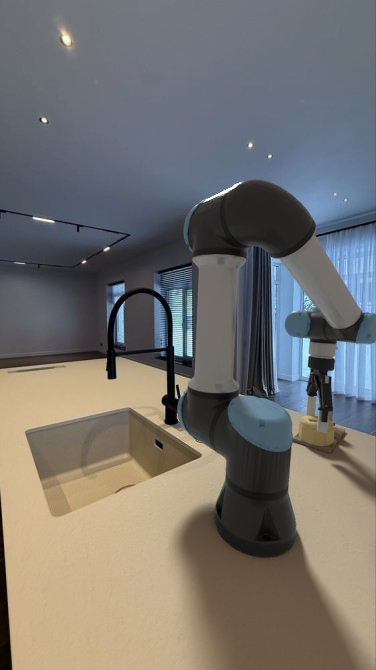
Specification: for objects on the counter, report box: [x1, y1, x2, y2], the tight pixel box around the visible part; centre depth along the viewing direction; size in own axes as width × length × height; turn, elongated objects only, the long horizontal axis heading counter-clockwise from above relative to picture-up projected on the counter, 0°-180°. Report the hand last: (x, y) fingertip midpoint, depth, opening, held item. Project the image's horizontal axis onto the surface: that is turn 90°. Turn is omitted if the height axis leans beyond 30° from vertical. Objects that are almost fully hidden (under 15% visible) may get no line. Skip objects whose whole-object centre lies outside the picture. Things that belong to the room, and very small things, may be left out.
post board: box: [293, 404, 346, 454], centre depth 93 cm, size 20×11×9 cm, turn 140°
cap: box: [298, 415, 335, 446], centre depth 89 cm, size 9×9×6 cm
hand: (315, 423), depth 88 cm, fingers open, 13 cm apart
